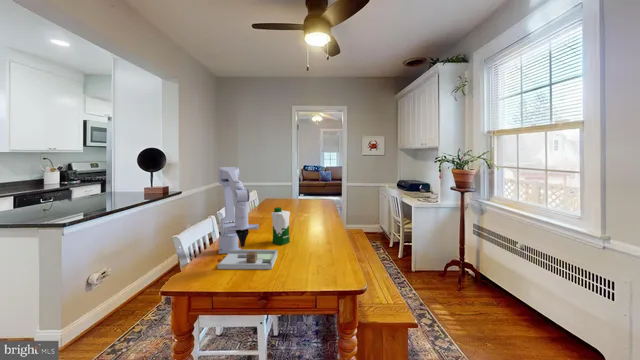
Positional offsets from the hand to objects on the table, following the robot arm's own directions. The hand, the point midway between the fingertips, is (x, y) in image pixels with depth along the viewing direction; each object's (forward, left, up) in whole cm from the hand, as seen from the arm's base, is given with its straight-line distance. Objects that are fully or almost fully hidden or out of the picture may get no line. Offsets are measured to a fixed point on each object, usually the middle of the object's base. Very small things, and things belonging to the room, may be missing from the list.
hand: (242, 246), depth 126 cm
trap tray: (+2, +5, -10) cm, 11 cm away
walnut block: (+4, +2, -8) cm, 9 cm away
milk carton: (+13, +33, -10) cm, 37 cm away
